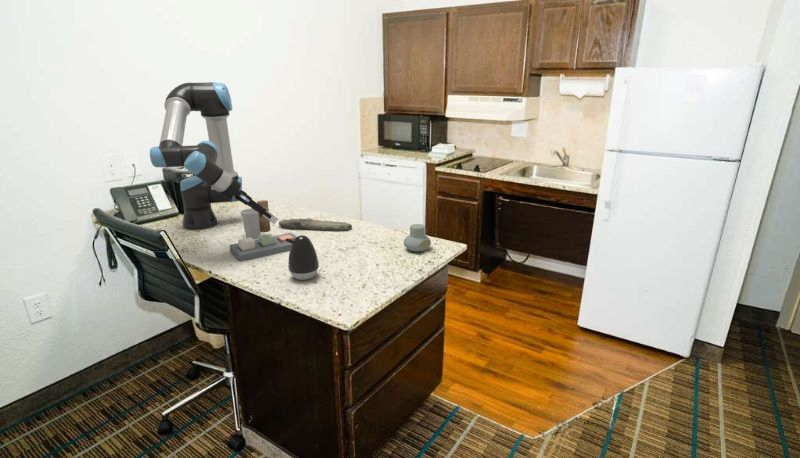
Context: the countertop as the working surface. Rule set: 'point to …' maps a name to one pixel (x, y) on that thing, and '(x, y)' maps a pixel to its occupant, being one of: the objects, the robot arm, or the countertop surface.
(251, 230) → the cup
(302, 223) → the long grey stone
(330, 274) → the countertop surface
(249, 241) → the key near
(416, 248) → the air freshener
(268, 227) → the wooden pepper mill
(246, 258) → the keypad
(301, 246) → the black rounded cone
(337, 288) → the countertop surface
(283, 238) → the key far
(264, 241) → the key mid
